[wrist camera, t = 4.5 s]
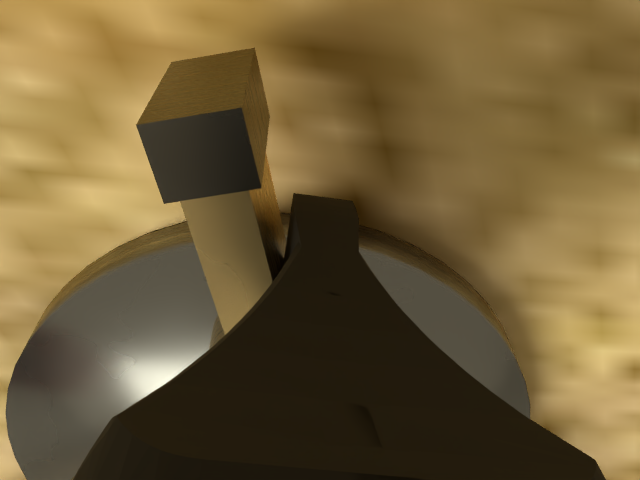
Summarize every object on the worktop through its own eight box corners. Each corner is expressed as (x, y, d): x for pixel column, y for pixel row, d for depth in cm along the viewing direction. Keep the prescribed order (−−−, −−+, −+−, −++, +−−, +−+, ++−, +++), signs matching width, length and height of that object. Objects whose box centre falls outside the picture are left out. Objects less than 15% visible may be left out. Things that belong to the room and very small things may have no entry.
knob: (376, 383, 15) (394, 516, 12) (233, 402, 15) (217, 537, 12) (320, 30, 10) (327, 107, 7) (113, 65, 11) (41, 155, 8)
